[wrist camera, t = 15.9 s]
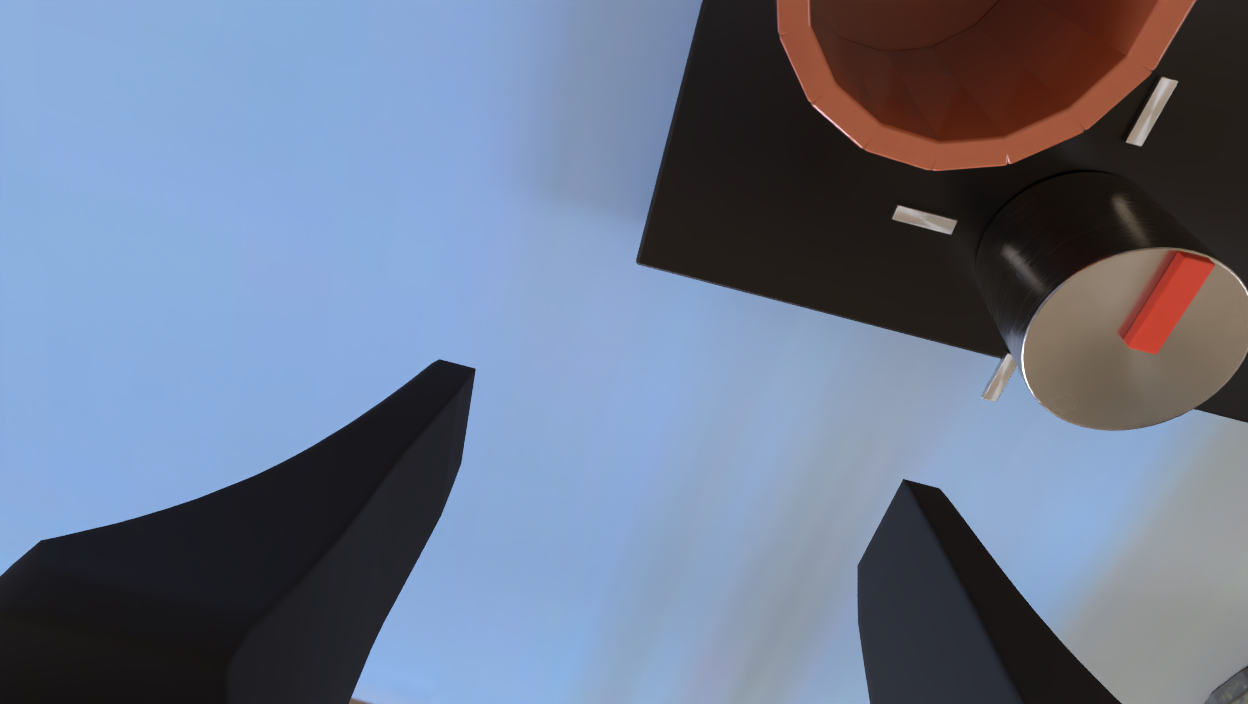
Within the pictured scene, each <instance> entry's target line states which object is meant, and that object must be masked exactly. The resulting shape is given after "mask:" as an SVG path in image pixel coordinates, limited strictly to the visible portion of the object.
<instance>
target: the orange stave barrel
mask: <svg viewBox="0 0 1248 704" xmlns="http://www.w3.org/2000/svg"><path fill="white" fill-rule="evenodd" d="M1195 2H1196V0H774V6H775V13H776V21H777V28H778V33H779V38H780V41H781V43H782V45H783V47H784V50H785V52H786V54H787V56H788V58H789V61H790V63H791V65H792V67H793V69H794V71H795V74H796V76H797V78H798V80H799V82H800V84H801V87H802V89H803V91H804V93H805V95H806V98H807V100H808V101H809V102H811V105H812V107H814V108H815V109H816V110H817V111H818V112H819V113H821V114H822V115H823V116H824V117H825V118H826V119H827V120H829V121H830V122H831V123H832V124H833V125H834V126H835V127H837V128H838V129H839V130H840V131H841V132H842V133H843V134H845V135H846V136H847V137H848V138H849V139H850V140H851V141H853V142H854V143H855V144H856V145H857V146H858V147H860V148H862V149H863V148H864V150H865V151H867V152H870V153H873V154H877V155H880V156H883V157H886V158H890V159H893V160H896V161H899V162H903V163H906V164H909V165H912V166H915V167H919V168H922V169H925V170H931V169H932V170H933V171H943V170H956V169H969V168H981V167H994V166H1005V165H1007V164H1013V163H1015V162H1017V161H1019V160H1022V159H1024V158H1026V157H1029V156H1031V155H1033V154H1035V153H1038V152H1040V151H1042V150H1045V149H1047V148H1049V147H1051V146H1054V145H1056V144H1058V143H1061V142H1063V141H1065V140H1067V139H1070V138H1072V137H1074V136H1077V135H1079V134H1081V133H1083V132H1084V130H1087V129H1089V128H1090V127H1091V126H1093V125H1094V124H1095V123H1096V122H1097V121H1098V120H1099V119H1101V118H1102V117H1103V116H1104V115H1105V114H1106V113H1107V112H1108V111H1110V110H1111V109H1112V108H1113V107H1114V106H1115V105H1116V104H1118V103H1119V102H1120V101H1121V100H1122V99H1123V98H1124V97H1126V96H1127V95H1128V94H1129V93H1130V92H1131V91H1132V90H1133V89H1135V88H1136V87H1137V86H1138V85H1139V84H1140V83H1141V82H1143V81H1144V80H1145V79H1146V78H1147V77H1148V76H1149V75H1150V74H1151V73H1152V72H1151V70H1154V69H1155V68H1156V67H1157V65H1158V64H1159V62H1160V60H1161V59H1162V57H1163V55H1164V54H1165V52H1166V50H1167V49H1168V47H1169V45H1170V44H1171V42H1172V40H1173V39H1174V37H1175V35H1176V34H1177V32H1178V30H1179V29H1180V27H1181V25H1182V24H1183V22H1184V20H1185V18H1186V17H1187V15H1188V13H1189V12H1190V10H1191V8H1192V7H1193V5H1194V3H1195Z"/></svg>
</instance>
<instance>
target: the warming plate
mask: <svg viewBox="0 0 1248 704" xmlns="http://www.w3.org/2000/svg"><path fill="white" fill-rule="evenodd" d="M1151 72H1152V73H1151V74H1150V75H1149V76H1148V77H1147V78H1146V79H1145V80H1144V81H1143V82H1141V83H1140V84H1139V85H1138V86H1137V87H1136V88H1135V89H1133V90H1132V91H1131V92H1130V93H1129V94H1128V95H1127V96H1126V97H1124V98H1123V99H1122V100H1121V101H1120V102H1119V103H1118V104H1116V105H1115V106H1114V107H1113V108H1112V109H1111V110H1110V111H1108V112H1107V113H1106V114H1105V115H1104V116H1103V117H1102V118H1101V119H1099V120H1098V121H1097V122H1096V123H1095V124H1094V125H1093V126H1091V127H1090V128H1089V129H1087V130H1084V132H1083V133H1081V134H1079V135H1077V136H1074V137H1072V138H1070V139H1067V140H1065V141H1063V142H1061V143H1058V144H1056V145H1054V146H1051V147H1049V148H1047V149H1045V150H1042V151H1040V152H1038V153H1035V154H1033V155H1031V156H1029V157H1026V158H1024V159H1022V160H1019V161H1017V162H1015V163H1013V164H1007V165H1005V166H994V167H981V168H969V169H956V170H943V171H933V170H932V169H931V170H925V169H922V168H919V167H915V166H912V165H909V164H906V163H903V162H899V161H896V160H893V159H890V158H886V157H883V156H880V155H877V154H873V153H870V152H867V151H865V150H864V148H863V149H862V148H860V147H858V146H857V145H856V144H855V143H854V142H853V141H851V140H850V139H849V138H848V137H847V136H846V135H845V134H843V133H842V132H841V131H840V130H839V129H838V128H837V127H835V126H834V125H833V124H832V123H831V122H830V121H829V120H827V119H826V118H825V117H824V116H823V115H822V114H821V113H819V112H818V111H817V110H816V109H815V108H814V107H812V105H811V102H809V101H808V100H807V98H806V95H805V93H804V91H803V89H802V87H801V84H800V82H799V80H798V78H797V76H796V74H795V71H794V69H793V67H792V65H791V63H790V61H789V58H788V56H787V54H786V52H785V50H784V47H783V45H782V43H781V41H780V38H779V33H778V28H777V21H776V13H775V6H774V0H703V1H702V5H701V9H700V12H699V16H698V20H697V24H696V28H695V32H694V36H693V40H692V44H691V48H690V52H689V55H688V59H687V63H686V67H685V71H684V75H683V79H682V83H681V87H680V91H679V95H678V98H677V102H676V106H675V110H674V114H673V118H672V122H671V126H670V130H669V134H668V138H667V141H666V145H665V149H664V153H663V157H662V161H661V165H660V169H659V173H658V177H657V181H656V184H655V188H654V192H653V196H652V200H651V204H650V208H649V212H648V216H647V220H646V224H645V227H644V231H643V235H642V239H641V243H640V247H639V251H638V255H637V259H636V262H637V264H639V265H642V266H646V267H650V268H654V269H658V270H662V271H665V272H669V273H673V274H677V275H681V276H685V277H689V278H692V279H696V280H700V281H704V282H708V283H712V284H715V285H719V286H723V287H727V288H731V289H735V290H739V291H742V292H746V293H750V294H754V295H758V296H762V297H766V298H769V299H773V300H777V301H781V302H785V303H789V304H793V305H796V306H800V307H804V308H808V309H812V310H816V311H819V312H823V313H827V314H831V315H835V316H839V317H843V318H846V319H850V320H854V321H858V322H862V323H866V324H870V325H873V326H877V327H881V328H885V329H889V330H893V331H896V332H900V333H904V334H908V335H912V336H916V337H920V338H923V339H927V340H931V341H935V342H939V343H943V344H947V345H950V346H954V347H958V348H962V349H966V350H970V351H973V352H977V353H981V354H985V355H989V356H993V357H997V358H1000V359H1001V361H1000V363H999V364H998V366H997V368H996V370H995V372H994V373H993V375H992V377H991V379H990V381H989V382H988V384H987V386H986V388H985V390H984V392H983V393H982V395H981V396H982V398H983V399H986V400H990V401H994V402H996V401H997V400H998V398H999V396H1000V394H1001V393H1002V391H1003V389H1004V387H1005V385H1006V384H1007V382H1008V380H1009V378H1010V377H1011V375H1012V373H1013V371H1014V370H1015V368H1016V366H1017V365H1016V363H1015V361H1014V359H1013V357H1012V355H1011V353H1010V351H1009V349H1008V347H1007V345H1006V343H1005V341H1004V339H1003V337H1002V335H1001V333H1000V331H999V329H998V327H997V325H996V323H995V321H994V319H993V317H992V315H991V313H990V311H989V309H988V307H987V305H986V303H985V301H984V299H983V297H982V294H981V292H980V289H979V287H978V283H977V278H976V258H977V253H978V249H979V245H980V243H981V241H982V238H983V236H984V234H985V232H986V230H987V228H988V227H989V225H990V224H991V222H992V221H993V219H994V218H995V217H996V215H997V214H998V213H999V212H1000V211H1001V210H1002V209H1003V208H1004V207H1005V206H1006V205H1007V204H1008V203H1009V202H1010V201H1012V200H1013V199H1014V198H1015V197H1017V196H1018V195H1020V194H1021V193H1022V192H1024V191H1025V190H1027V189H1029V188H1031V187H1033V186H1035V185H1036V184H1039V183H1041V182H1043V181H1046V180H1048V179H1051V178H1054V177H1058V176H1061V175H1066V174H1072V173H1080V172H1100V173H1107V174H1112V175H1116V176H1119V177H1122V178H1125V179H1127V180H1129V181H1131V182H1133V183H1135V184H1137V185H1138V186H1140V187H1141V188H1143V189H1144V190H1145V191H1146V192H1147V193H1149V194H1150V195H1151V196H1152V197H1153V198H1154V199H1155V200H1156V201H1157V202H1158V203H1160V204H1161V205H1162V206H1163V207H1164V208H1165V209H1166V210H1167V211H1168V212H1169V213H1171V214H1172V215H1173V216H1174V217H1175V218H1176V219H1177V220H1178V221H1179V222H1180V223H1182V224H1183V225H1184V226H1185V227H1186V228H1187V229H1188V230H1189V231H1190V232H1191V233H1193V234H1194V235H1195V236H1196V237H1197V238H1198V239H1199V240H1200V241H1201V242H1202V243H1203V244H1205V245H1206V246H1207V247H1208V248H1209V249H1210V250H1211V251H1212V252H1213V253H1214V254H1216V255H1217V256H1218V257H1219V258H1220V259H1221V260H1222V261H1223V262H1224V263H1225V264H1227V265H1228V266H1229V267H1230V268H1231V269H1232V270H1233V271H1234V272H1235V273H1236V274H1237V275H1238V276H1239V277H1240V278H1241V280H1242V281H1243V283H1244V284H1245V286H1246V287H1247V289H1248V0H1196V2H1195V3H1194V5H1193V7H1192V8H1191V10H1190V12H1189V13H1188V15H1187V17H1186V18H1185V20H1184V22H1183V24H1182V25H1181V27H1180V29H1179V30H1178V32H1177V34H1176V35H1175V37H1174V39H1173V40H1172V42H1171V44H1170V45H1169V47H1168V49H1167V50H1166V52H1165V54H1164V55H1163V57H1162V59H1161V60H1160V62H1159V64H1158V65H1157V67H1156V68H1155V69H1154V70H1151ZM1194 409H1197V410H1201V411H1205V412H1208V413H1212V414H1216V415H1220V416H1224V417H1228V418H1231V419H1235V420H1239V421H1243V422H1247V423H1248V352H1247V354H1246V357H1245V359H1244V360H1243V362H1242V364H1241V365H1240V367H1239V368H1238V370H1237V371H1236V372H1235V374H1234V375H1233V376H1232V377H1231V379H1230V380H1229V381H1228V382H1227V383H1226V384H1225V385H1224V386H1223V387H1222V388H1221V389H1220V390H1219V391H1218V392H1217V393H1215V394H1214V395H1213V396H1212V397H1210V398H1209V399H1208V400H1206V401H1205V402H1203V403H1202V404H1200V405H1199V406H1197V407H1196V408H1194Z"/></svg>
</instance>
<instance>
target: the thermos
mask: <svg viewBox="0 0 1248 704" xmlns="http://www.w3.org/2000/svg"><path fill="white" fill-rule="evenodd" d="M1205 704H1248V668H1246V669H1244V670H1242V671H1240V672H1239V673H1238V674H1237V675H1235V676H1234V677H1233V678H1231V679H1230V680H1229V681H1227V682H1226V683H1225V684H1224V685H1222V686H1221V687H1220V688H1218V689H1217V690H1216V691H1214V692H1213V693H1212V694H1211V696H1210V697H1209V699H1208V700H1207V702H1206V703H1205Z"/></svg>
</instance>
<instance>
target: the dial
mask: <svg viewBox="0 0 1248 704" xmlns="http://www.w3.org/2000/svg"><path fill="white" fill-rule="evenodd" d="M976 278H977V283H978V287H979V289H980V292H981V294H982V297H983V299H984V301H985V303H986V305H987V307H988V309H989V311H990V313H991V315H992V317H993V319H994V321H995V323H996V325H997V327H998V329H999V331H1000V333H1001V335H1002V337H1003V339H1004V341H1005V343H1006V345H1007V347H1008V349H1009V351H1010V353H1011V355H1012V357H1013V359H1014V361H1015V363H1016V365H1017V367H1018V369H1019V371H1020V373H1021V375H1022V377H1023V379H1024V381H1025V383H1026V385H1027V387H1028V389H1029V390H1030V392H1031V394H1032V395H1033V396H1034V398H1035V399H1036V400H1037V401H1038V402H1039V403H1040V404H1041V405H1042V406H1043V407H1044V408H1045V409H1046V410H1048V411H1049V412H1050V413H1052V414H1054V415H1055V416H1057V417H1058V418H1061V419H1063V420H1065V421H1067V422H1069V423H1072V424H1075V425H1078V426H1082V427H1086V428H1091V429H1097V430H1130V429H1138V428H1143V427H1148V426H1153V425H1156V424H1159V423H1162V422H1166V421H1168V420H1171V419H1173V418H1176V417H1178V416H1181V415H1183V414H1184V413H1186V412H1188V411H1190V410H1192V409H1194V408H1196V407H1197V406H1199V405H1200V404H1202V403H1203V402H1205V401H1206V400H1208V399H1209V398H1210V397H1212V396H1213V395H1214V394H1215V393H1217V392H1218V391H1219V390H1220V389H1221V388H1222V387H1223V386H1224V385H1225V384H1226V383H1227V382H1228V381H1229V380H1230V379H1231V377H1232V376H1233V375H1234V374H1235V372H1236V371H1237V370H1238V368H1239V367H1240V365H1241V364H1242V362H1243V360H1244V359H1245V357H1246V354H1247V352H1248V289H1247V287H1246V286H1245V284H1244V283H1243V281H1242V280H1241V278H1240V277H1239V276H1238V275H1237V274H1236V273H1235V272H1234V271H1233V270H1232V269H1231V268H1230V267H1229V266H1228V265H1227V264H1225V263H1224V262H1223V261H1222V260H1221V259H1220V258H1219V257H1218V256H1217V255H1216V254H1214V253H1213V252H1212V251H1211V250H1210V249H1209V248H1208V247H1207V246H1206V245H1205V244H1203V243H1202V242H1201V241H1200V240H1199V239H1198V238H1197V237H1196V236H1195V235H1194V234H1193V233H1191V232H1190V231H1189V230H1188V229H1187V228H1186V227H1185V226H1184V225H1183V224H1182V223H1180V222H1179V221H1178V220H1177V219H1176V218H1175V217H1174V216H1173V215H1172V214H1171V213H1169V212H1168V211H1167V210H1166V209H1165V208H1164V207H1163V206H1162V205H1161V204H1160V203H1158V202H1157V201H1156V200H1155V199H1154V198H1153V197H1152V196H1151V195H1150V194H1149V193H1147V192H1146V191H1145V190H1144V189H1143V188H1141V187H1140V186H1138V185H1137V184H1135V183H1133V182H1131V181H1129V180H1127V179H1125V178H1122V177H1119V176H1116V175H1112V174H1107V173H1100V172H1080V173H1072V174H1066V175H1061V176H1058V177H1054V178H1051V179H1048V180H1046V181H1043V182H1041V183H1039V184H1036V185H1035V186H1033V187H1031V188H1029V189H1027V190H1025V191H1024V192H1022V193H1021V194H1020V195H1018V196H1017V197H1015V198H1014V199H1013V200H1012V201H1010V202H1009V203H1008V204H1007V205H1006V206H1005V207H1004V208H1003V209H1002V210H1001V211H1000V212H999V213H998V214H997V215H996V217H995V218H994V219H993V221H992V222H991V224H990V225H989V227H988V228H987V230H986V232H985V234H984V236H983V238H982V241H981V243H980V245H979V249H978V253H977V258H976Z"/></svg>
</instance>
